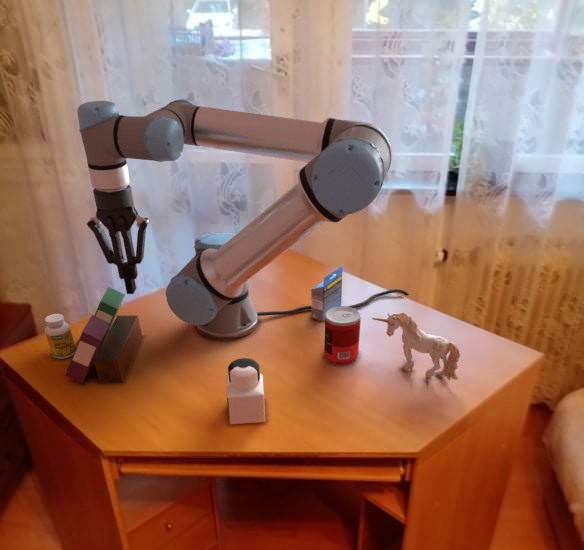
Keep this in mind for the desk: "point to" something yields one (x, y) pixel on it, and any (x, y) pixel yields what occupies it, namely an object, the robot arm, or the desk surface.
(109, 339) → the walnut block
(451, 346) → the unicorn figurine
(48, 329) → the supplement bottle
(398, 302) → the desk surface
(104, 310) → the green tea box
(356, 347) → the canned food
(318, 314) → the tape cartridge
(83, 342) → the plum tea box
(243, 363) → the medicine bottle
